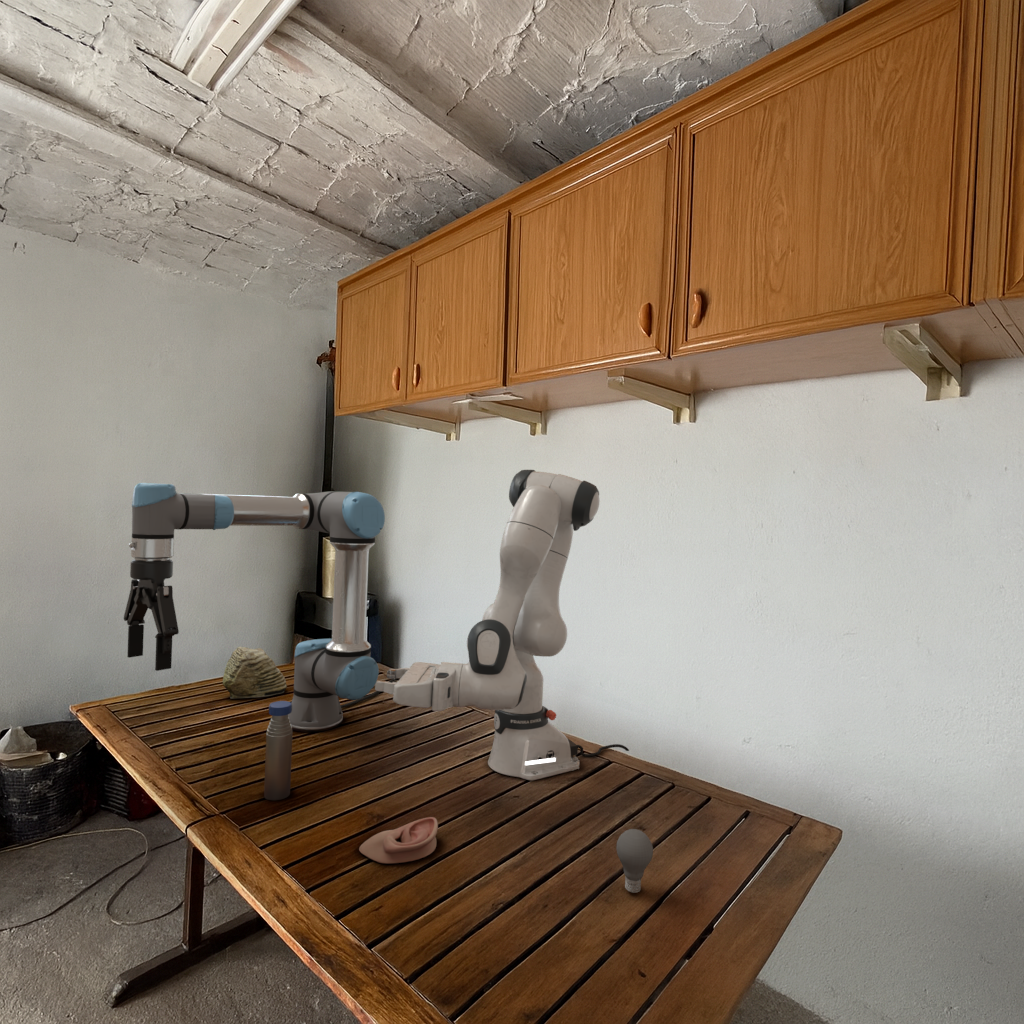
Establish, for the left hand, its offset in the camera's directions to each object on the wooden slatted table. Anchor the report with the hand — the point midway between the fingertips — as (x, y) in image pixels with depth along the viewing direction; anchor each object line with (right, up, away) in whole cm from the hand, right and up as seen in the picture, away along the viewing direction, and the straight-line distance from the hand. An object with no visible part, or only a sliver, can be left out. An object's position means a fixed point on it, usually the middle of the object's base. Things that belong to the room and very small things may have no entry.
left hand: (148, 662), depth 129 cm
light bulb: (+94, -33, -24) cm, 103 cm away
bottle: (+25, -29, +5) cm, 38 cm away
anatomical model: (+54, -31, -14) cm, 63 cm away
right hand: (+47, -4, +3) cm, 47 cm away
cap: (+25, -10, +4) cm, 28 cm away
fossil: (-6, -27, +69) cm, 74 cm away
